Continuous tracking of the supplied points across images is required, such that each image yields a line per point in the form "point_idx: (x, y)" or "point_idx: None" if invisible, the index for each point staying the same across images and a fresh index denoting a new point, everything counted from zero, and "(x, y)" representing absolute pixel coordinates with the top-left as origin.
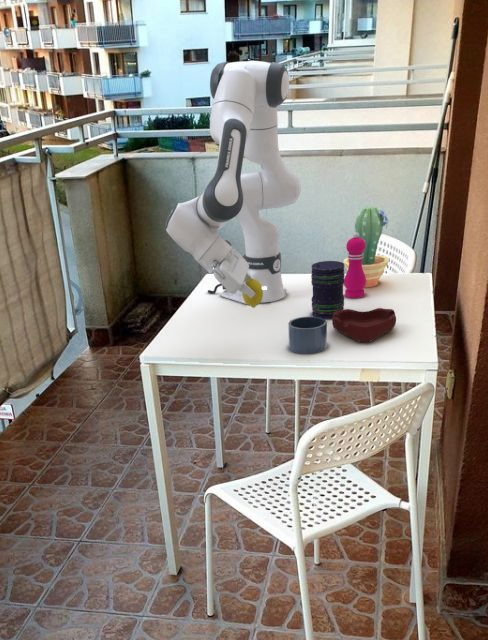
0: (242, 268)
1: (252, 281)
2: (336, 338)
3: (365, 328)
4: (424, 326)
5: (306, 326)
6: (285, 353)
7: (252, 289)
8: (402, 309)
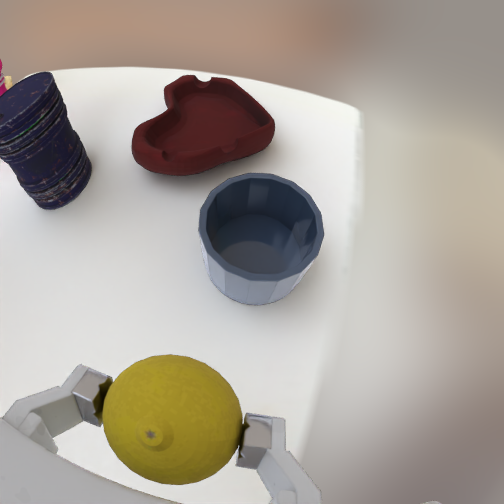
0: (45, 501)
1: (186, 434)
2: (213, 185)
3: (273, 123)
4: (209, 74)
5: (208, 230)
6: (287, 320)
7: (254, 435)
8: (119, 85)
